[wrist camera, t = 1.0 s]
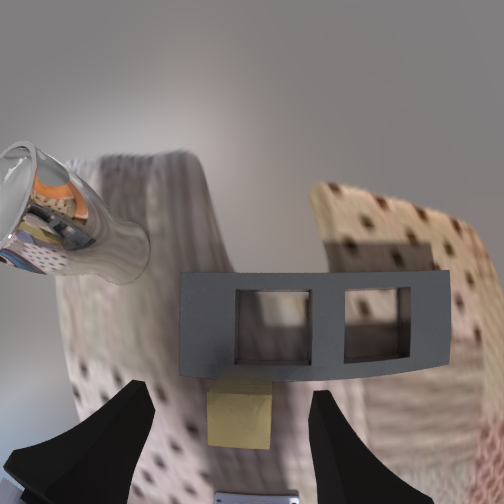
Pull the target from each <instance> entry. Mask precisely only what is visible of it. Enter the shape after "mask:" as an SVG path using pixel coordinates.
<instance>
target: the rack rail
mask: <svg viewBox="0 0 504 504" xmlns="http://www.w3.org/2000/svg"><path fill="white" fill-rule="evenodd" d="M390 289H398V291H399V338H398V354H389V355H380V356H369V357H357V358H344V337H345V291H363V290H390ZM240 291H246V292H309V337H308V360H240V359H238V352H239V294H240ZM450 341H451V288H450V271H449V270H437V271H404V272H355V273H206V272H181V291H180V325H179V375H180V376H188V377H198V378H209V379H222V380H239V381H271V382H293V381H324V380H341V379H353V378H364V377H374V376H382V375H390V374H397V373H404V372H410V371H416V370H422V369H427V368H433V367H438V366H442V365H447V364H449V358H450Z"/></svg>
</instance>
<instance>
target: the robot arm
mask: <svg viewBox="0 0 504 504" xmlns="http://www.w3.org/2000/svg"><path fill="white" fill-rule="evenodd" d="M154 414H155V408H154V406H153V403H152V400H151V398H150V395H149V392H148V389H147V387H146V384H145V382H144V381H138V380H132V381H131V382H129V383H128V384H127V385H126V386H125V387H124V388H123V389H122V390H121V391H119V392H118V393H117V394H116V395H115V396H114V397H113V398H112V399H110V400H109V401H108V402H107V403H106V404H105V405H103V406H102V407H101V408H100V409H99V410H97V411H96V412H95V413H94V414H92V415H91V416H90V417H88V418H87V419H86V420H84V421H83V422H81V423H80V424H78V425H77V426H75V427H74V428H72V429H70V430H68V431H67V432H65V433H63V434H61V435H59V436H57V437H55V438H52V439H50V440H48V441H45V442H42V443H40V444H37V445H34V446H30V447H26V448H22V449H17V450H14V451H13V452H12V453H11V455H10V456H9V458H8V460H7V461H6V463H5V464H4V466H3V467H4V470H5V471H6V472H7V473H8V474H9V475H10V476H11V477H12V478H14V479H15V480H16V481H17V482H18V483H20V484H21V485H22V486H23V487H24V488H25V489H24V491H22V490H20V489H19V488H18V487H16V486H15V485H14V484H12V483H11V482H10V481H8V480H7V479H6V478H3V479H2V481H1V483H0V504H127V500H128V495H129V490H130V485H131V481H132V477H133V473H134V470H135V467H136V464H137V462H138V459H139V457H140V454H141V452H142V449H143V447H144V445H145V442H146V440H147V437H148V435H149V432H150V430H151V426H152V422H153V418H154ZM308 425H309V441H310V447H311V453H312V459H313V465H314V470H315V476H316V483H317V499H318V504H434V502H433V500H432V498H431V497H429V496H427V495H425V494H423V493H421V492H420V491H418V490H416V489H415V488H413V487H412V486H410V485H409V484H407V483H406V482H404V481H403V480H402V479H400V478H399V477H398V476H396V475H395V474H394V473H393V472H392V471H390V470H389V469H388V468H387V467H386V466H385V465H383V464H382V463H381V462H380V461H379V460H378V459H377V458H376V457H375V456H374V455H373V454H372V452H371V451H370V450H369V449H368V448H367V447H366V446H365V444H364V443H363V442H362V441H361V439H360V438H359V437H358V436H357V434H356V433H355V432H354V430H353V429H352V427H351V426H350V424H349V423H348V422H347V420H346V419H345V417H344V415H343V414H342V412H341V410H340V409H339V407H338V405H337V404H336V402H335V400H334V398H333V396H332V394H331V392H330V391H329V390H321V391H314V392H313V398H312V403H311V408H310V413H309V418H308ZM218 499H220V500H221V501H220V500H218ZM299 501H300V500H299V497H298V496H258V495H241V494H229V493H220V492H217V493H215V495H214V504H292V503H295V504H299Z"/></svg>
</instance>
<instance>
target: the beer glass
mask: <svg viewBox="0 0 504 504" xmlns="http://www.w3.org/2000/svg"><path fill="white" fill-rule="evenodd" d="M149 254H150V245H149V240H148V237H147V235H146V233H145V231H144V230H143V228H142V227H141V226H139V225H138V224H136V223H134V222H132V221H128V220H124V219H121V218H120V217H117V216H116V215H115V214H114V213H113V212H112V211H111V210H110V209H109V207H108V206H107V205H106V204H105V203H104V201H103V200H102V199H101V198H100V197H99V195H98V194H97V193H96V192H95V191H94V190H93V189H92V188H91V187H90V186H89V185H88V184H87V182H86V181H84V180H83V179H82V178H81V177H80V176H78V175H77V174H76V173H75V172H74V171H72V170H71V169H70V168H68V167H67V166H65V165H64V164H62V163H61V162H60V161H58V160H56V159H55V158H53V157H51V156H50V155H48V154H46V153H45V152H43V151H41V150H39V149H38V148H36V147H35V146H33V145H32V144H31V143H30V142H28V141H19V142H16V143H14V144H13V145H11V146H10V147H9V148H7V149H6V150H5V151H4V152H3V153H2V154H1V155H0V262H2V263H5V264H8V265H10V266H13V267H16V268H18V269H22V270H26V271H29V272H32V273H38V274H43V275H51V276H52V275H53V276H73V275H97V276H99V277H101V278H103V279H104V280H106V281H108V282H110V283H112V284H116V285H124V284H128V283H130V282H132V281H134V280H135V279H137V278H138V277H139V276H140V275H141V273H142V272H143V271H144V269H145V267H146V265H147V262H148V259H149Z"/></svg>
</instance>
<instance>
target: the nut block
mask: <svg viewBox="0 0 504 504" xmlns="http://www.w3.org/2000/svg"><path fill="white" fill-rule="evenodd" d="M272 385H273V382H271V381H239V380H222V379H218V380H217V381H216V382H215V383H214V384H213V385H212V386H211V388H210V389H209V390H208V391H207V431H208V445H211V446H220V447H231V448H246V449H270V435H271V416H272Z"/></svg>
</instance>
